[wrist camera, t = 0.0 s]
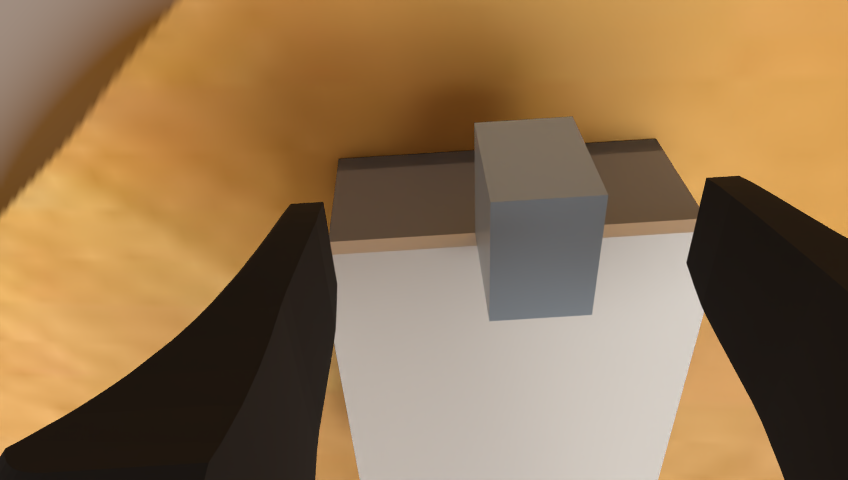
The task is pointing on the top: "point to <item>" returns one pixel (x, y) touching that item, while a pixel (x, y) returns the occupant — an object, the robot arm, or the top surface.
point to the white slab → (518, 328)
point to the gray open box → (455, 191)
